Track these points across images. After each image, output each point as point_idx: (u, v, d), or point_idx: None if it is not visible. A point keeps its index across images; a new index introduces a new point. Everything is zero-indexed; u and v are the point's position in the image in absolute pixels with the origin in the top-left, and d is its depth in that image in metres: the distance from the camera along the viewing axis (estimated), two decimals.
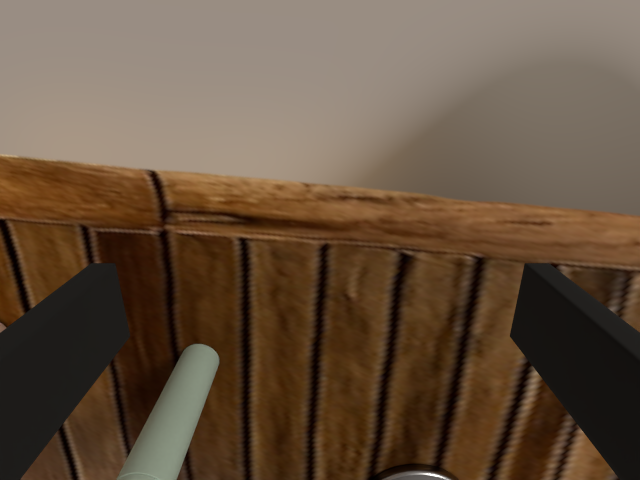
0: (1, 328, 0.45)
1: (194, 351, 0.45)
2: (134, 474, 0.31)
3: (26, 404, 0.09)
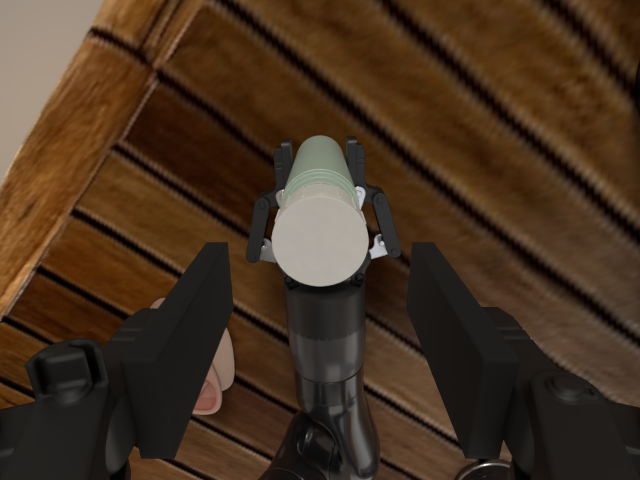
0: None
1: (300, 147, 0.37)
2: (286, 188, 0.22)
3: (193, 352, 0.10)
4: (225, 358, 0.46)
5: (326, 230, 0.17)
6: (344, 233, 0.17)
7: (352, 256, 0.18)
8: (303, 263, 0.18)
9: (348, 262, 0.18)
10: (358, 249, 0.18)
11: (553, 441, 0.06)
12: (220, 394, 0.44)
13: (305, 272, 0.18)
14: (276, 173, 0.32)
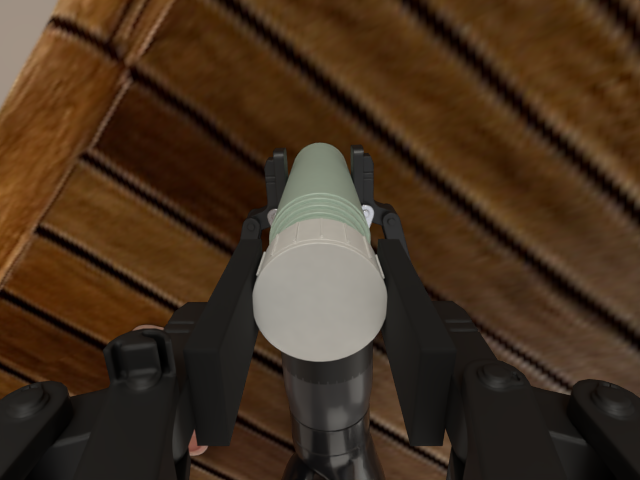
0: None
1: (296, 157, 0.32)
2: (276, 218, 0.17)
3: (240, 345, 0.11)
4: None
5: (328, 288, 0.12)
6: (354, 292, 0.12)
7: (365, 323, 0.13)
8: (296, 332, 0.13)
9: (359, 331, 0.13)
10: (373, 314, 0.13)
11: (483, 429, 0.06)
12: None
13: (299, 344, 0.13)
14: (268, 189, 0.27)
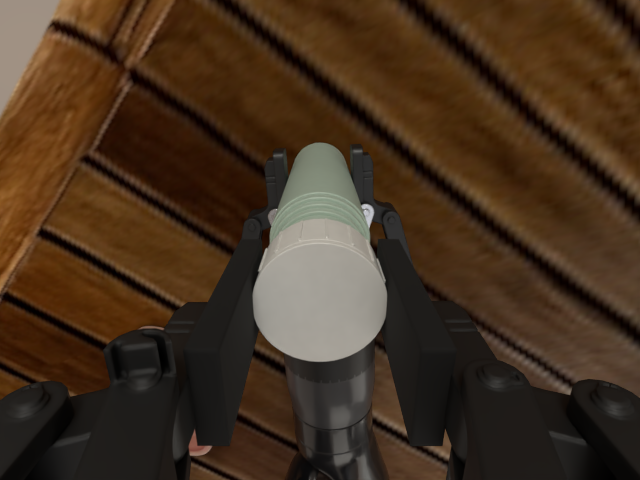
0: None
1: (296, 157, 0.32)
2: (276, 218, 0.17)
3: (240, 345, 0.11)
4: None
5: (299, 312, 0.13)
6: (285, 292, 0.12)
7: (304, 262, 0.12)
8: (358, 304, 0.12)
9: (315, 260, 0.12)
10: (290, 263, 0.12)
11: (483, 429, 0.06)
12: None
13: (368, 294, 0.12)
14: (268, 189, 0.27)
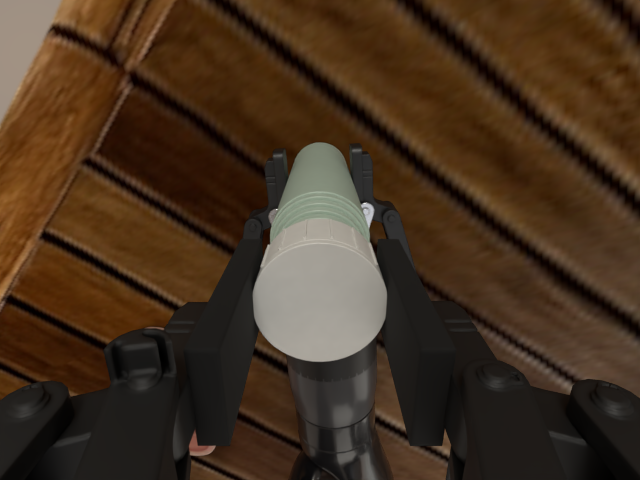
0: None
1: (296, 157, 0.32)
2: (276, 217, 0.17)
3: (240, 345, 0.11)
4: None
5: (338, 316, 0.13)
6: (329, 336, 0.13)
7: (294, 342, 0.13)
8: (292, 281, 0.12)
9: (285, 336, 0.13)
10: (303, 350, 0.13)
11: (482, 429, 0.06)
12: None
13: (277, 281, 0.12)
14: (268, 189, 0.27)
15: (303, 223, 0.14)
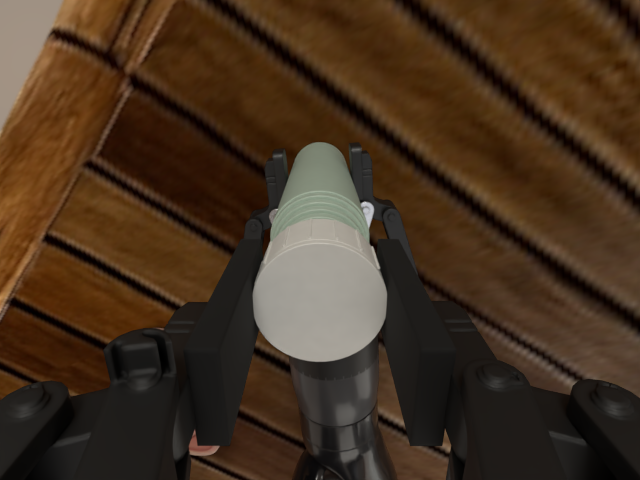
0: None
1: (296, 157, 0.32)
2: (276, 217, 0.18)
3: (240, 345, 0.11)
4: None
5: (316, 287, 0.12)
6: (341, 278, 0.12)
7: (369, 299, 0.12)
8: (316, 339, 0.13)
9: (369, 309, 0.12)
10: (371, 287, 0.12)
11: (482, 429, 0.06)
12: None
13: (325, 347, 0.13)
14: (269, 190, 0.27)
15: None
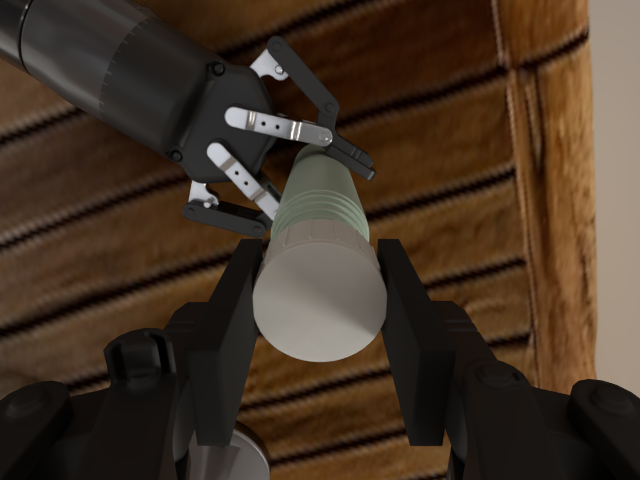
0: None
1: None
2: (364, 219, 0.18)
3: (240, 345, 0.11)
4: None
5: (316, 287, 0.12)
6: (341, 278, 0.12)
7: (369, 299, 0.12)
8: (316, 339, 0.13)
9: (369, 309, 0.12)
10: (371, 287, 0.12)
11: (482, 429, 0.06)
12: None
13: (325, 347, 0.13)
14: (350, 145, 0.26)
15: None
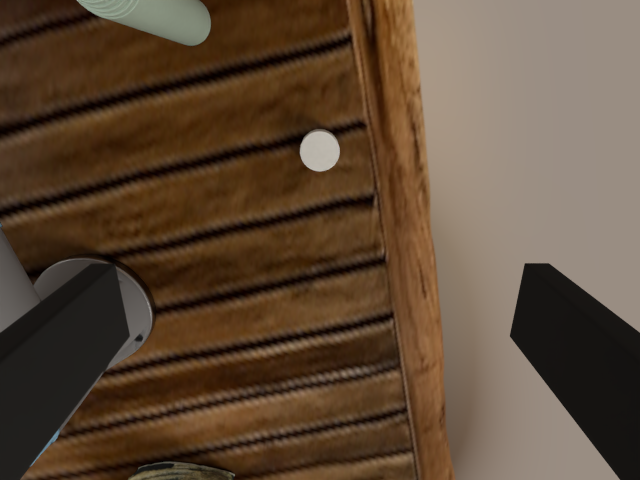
0: None
1: (205, 11, 0.39)
2: None
3: (26, 404, 0.09)
4: None
5: (318, 145, 0.43)
6: (325, 142, 0.43)
7: (334, 149, 0.43)
8: (318, 162, 0.43)
9: (334, 152, 0.43)
10: (334, 145, 0.43)
11: None
12: None
13: (321, 166, 0.43)
14: None
15: None
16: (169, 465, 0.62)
